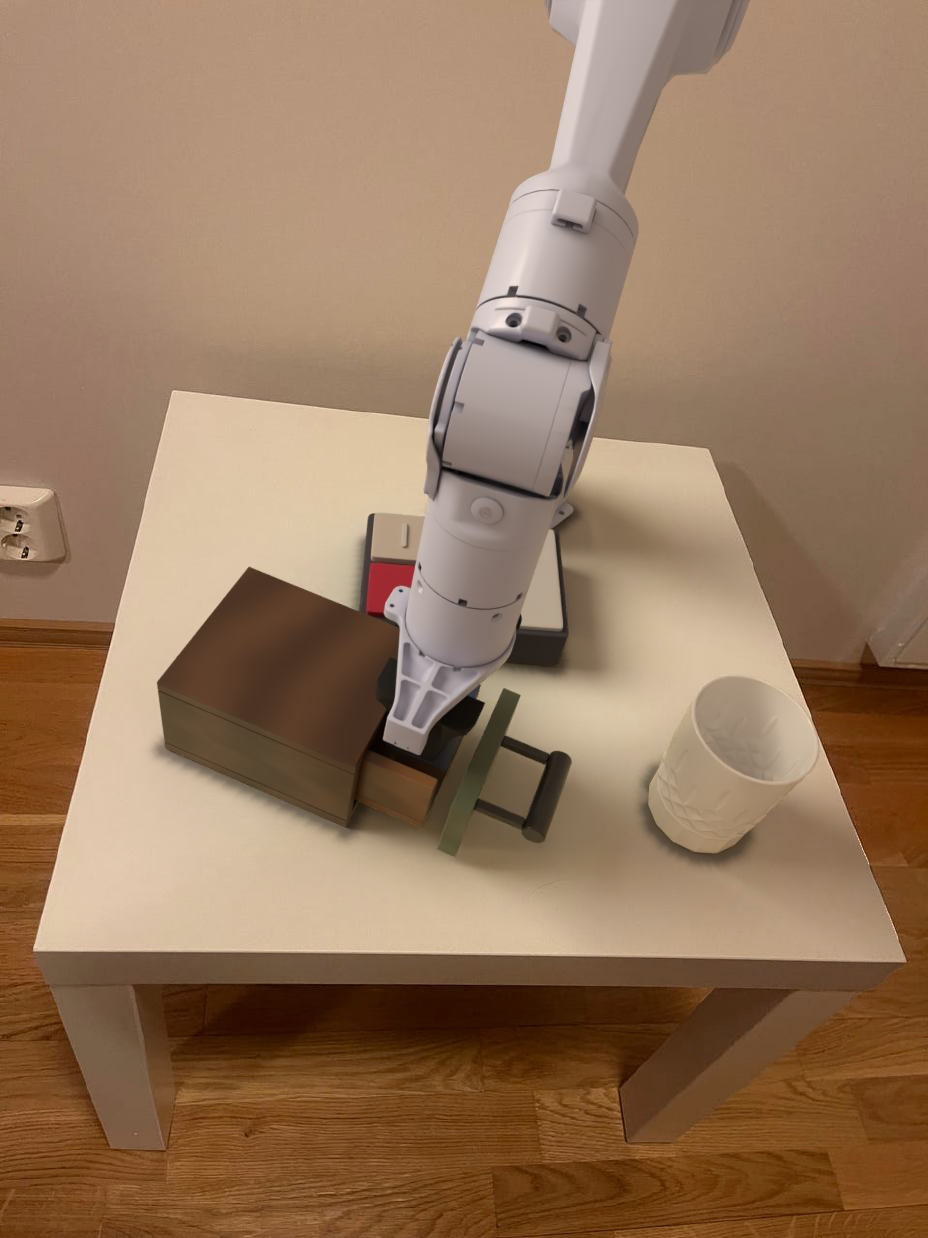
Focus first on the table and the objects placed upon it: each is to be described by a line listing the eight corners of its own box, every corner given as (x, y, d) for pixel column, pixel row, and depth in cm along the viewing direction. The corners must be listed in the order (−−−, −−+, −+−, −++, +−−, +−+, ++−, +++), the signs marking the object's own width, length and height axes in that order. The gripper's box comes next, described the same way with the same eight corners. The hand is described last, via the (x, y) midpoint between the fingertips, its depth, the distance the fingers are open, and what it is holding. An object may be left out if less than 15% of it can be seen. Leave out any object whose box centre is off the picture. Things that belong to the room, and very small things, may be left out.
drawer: (566, 766, 61) (588, 722, 57) (524, 888, 55) (545, 847, 51) (348, 675, 62) (355, 626, 59) (283, 783, 56) (286, 736, 52)
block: (410, 697, 57) (419, 658, 54) (469, 722, 57) (481, 684, 54) (384, 746, 54) (392, 707, 51) (446, 772, 54) (457, 735, 51)
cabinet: (411, 702, 63) (426, 638, 58) (345, 827, 56) (355, 767, 51) (248, 634, 64) (248, 565, 59) (164, 748, 57) (156, 682, 52)
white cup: (752, 877, 59) (824, 800, 51) (634, 844, 59) (689, 763, 51) (750, 775, 64) (815, 692, 57) (642, 746, 64) (693, 659, 57)
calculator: (368, 504, 70) (561, 521, 71) (366, 543, 73) (550, 559, 74) (358, 614, 63) (572, 630, 64) (356, 652, 66) (559, 667, 67)
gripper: (451, 455, 50) (418, 616, 60) (335, 636, 40) (318, 791, 50) (572, 501, 49) (517, 656, 59) (483, 697, 39) (435, 842, 49)
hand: (433, 721), depth 54 cm, fingers closed on block, 4 cm apart
